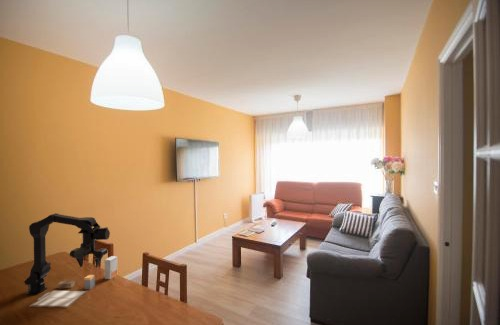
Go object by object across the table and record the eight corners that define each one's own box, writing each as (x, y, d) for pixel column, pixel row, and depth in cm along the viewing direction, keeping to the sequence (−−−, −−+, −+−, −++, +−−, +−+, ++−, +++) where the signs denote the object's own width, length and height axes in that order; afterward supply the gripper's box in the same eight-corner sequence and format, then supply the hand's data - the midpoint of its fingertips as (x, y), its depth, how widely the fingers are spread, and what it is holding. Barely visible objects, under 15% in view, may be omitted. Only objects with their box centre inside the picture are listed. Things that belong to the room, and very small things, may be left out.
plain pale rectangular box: (57, 288, 132) (57, 284, 132) (61, 285, 135) (61, 281, 135) (71, 287, 133) (71, 283, 133) (74, 284, 136) (74, 280, 136)
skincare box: (110, 279, 142) (110, 260, 141) (104, 278, 143) (104, 259, 142) (117, 274, 148) (117, 256, 147) (112, 274, 148) (111, 255, 148)
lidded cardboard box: (84, 289, 132) (84, 277, 131) (88, 285, 135) (88, 274, 135) (90, 289, 131) (90, 278, 131) (94, 285, 135) (94, 274, 135)
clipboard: (28, 306, 116) (28, 304, 116) (53, 290, 130) (53, 288, 130) (67, 307, 115) (67, 305, 115) (87, 291, 129) (87, 289, 129)
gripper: (61, 245, 125) (61, 273, 125) (94, 245, 124) (94, 274, 124) (77, 238, 136) (77, 264, 136) (107, 238, 135) (108, 264, 136)
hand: (89, 266), depth 133 cm, fingers open, 9 cm apart
